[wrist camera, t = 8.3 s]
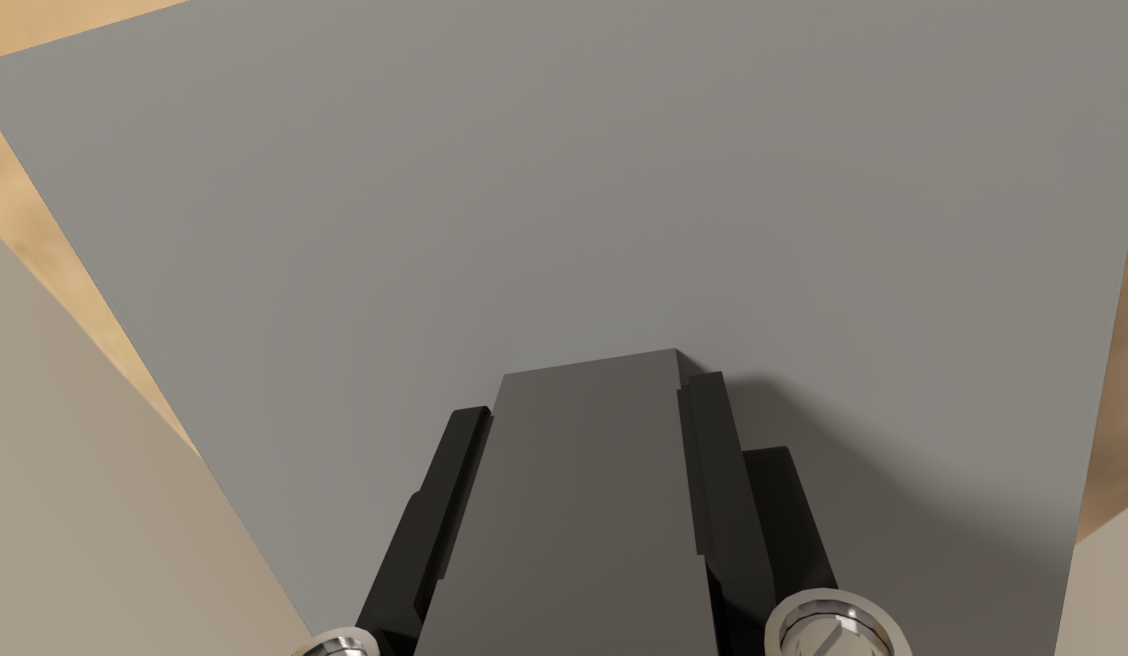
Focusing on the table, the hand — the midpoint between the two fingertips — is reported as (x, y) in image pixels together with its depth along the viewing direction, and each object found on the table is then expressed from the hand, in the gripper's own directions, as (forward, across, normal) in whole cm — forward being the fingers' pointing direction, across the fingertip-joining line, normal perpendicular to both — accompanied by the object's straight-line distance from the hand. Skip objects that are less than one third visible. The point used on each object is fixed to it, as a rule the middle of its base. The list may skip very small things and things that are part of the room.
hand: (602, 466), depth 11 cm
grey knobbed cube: (+19, 0, 0) cm, 19 cm away
